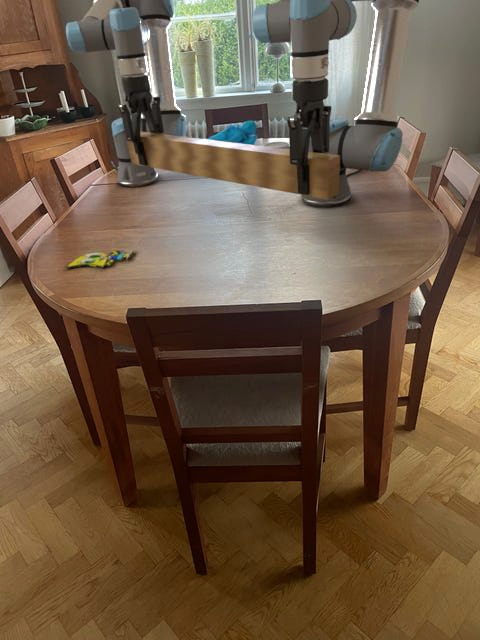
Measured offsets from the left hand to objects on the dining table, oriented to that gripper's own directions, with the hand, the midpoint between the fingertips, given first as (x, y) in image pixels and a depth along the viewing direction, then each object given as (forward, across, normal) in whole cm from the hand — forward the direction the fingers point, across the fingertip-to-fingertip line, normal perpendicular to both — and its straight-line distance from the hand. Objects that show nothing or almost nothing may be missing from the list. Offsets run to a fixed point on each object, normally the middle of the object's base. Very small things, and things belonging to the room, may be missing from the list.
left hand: (150, 162), depth 143 cm
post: (+1, +1, -28) cm, 28 cm away
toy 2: (+17, +66, +33) cm, 76 cm away
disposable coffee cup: (+16, +46, -12) cm, 50 cm away
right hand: (0, +2, -56) cm, 56 cm away
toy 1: (+16, -31, -13) cm, 37 cm away
